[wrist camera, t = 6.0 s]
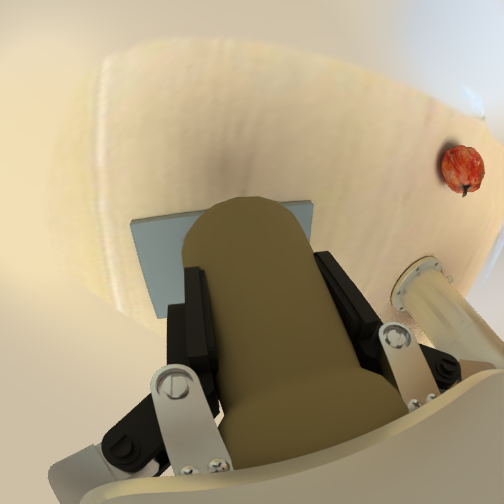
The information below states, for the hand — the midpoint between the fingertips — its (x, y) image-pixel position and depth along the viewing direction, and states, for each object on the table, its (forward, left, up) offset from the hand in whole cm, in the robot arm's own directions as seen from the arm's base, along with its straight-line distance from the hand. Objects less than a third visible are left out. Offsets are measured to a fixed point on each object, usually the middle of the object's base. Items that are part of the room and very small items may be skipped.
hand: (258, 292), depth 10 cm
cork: (0, 0, -3) cm, 3 cm away
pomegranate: (-35, -1, -19) cm, 40 cm away
